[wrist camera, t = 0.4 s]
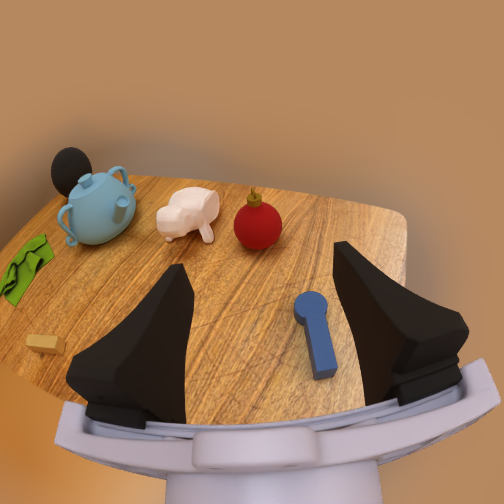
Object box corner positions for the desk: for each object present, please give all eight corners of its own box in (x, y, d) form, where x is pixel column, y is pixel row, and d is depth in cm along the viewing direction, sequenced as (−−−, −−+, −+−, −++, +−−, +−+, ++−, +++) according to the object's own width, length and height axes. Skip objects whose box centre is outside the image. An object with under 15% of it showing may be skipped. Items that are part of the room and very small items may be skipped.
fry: (66, 342, 32) (58, 335, 31) (63, 355, 31) (54, 348, 29) (36, 340, 33) (28, 333, 31) (33, 351, 31) (25, 345, 29)
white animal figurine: (186, 225, 53) (146, 257, 40) (182, 183, 49) (137, 203, 36) (227, 225, 51) (197, 260, 38) (224, 181, 48) (189, 201, 34)
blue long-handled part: (341, 375, 27) (346, 366, 24) (306, 381, 27) (307, 373, 25) (322, 297, 34) (324, 283, 32) (291, 302, 34) (291, 288, 32)
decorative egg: (58, 205, 64) (37, 164, 53) (85, 181, 71) (68, 141, 61) (77, 209, 60) (53, 161, 49) (107, 182, 67) (88, 137, 57)
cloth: (49, 227, 56) (45, 220, 54) (57, 272, 43) (51, 264, 42) (-1, 268, 48) (-6, 262, 46) (-3, 323, 35) (-10, 316, 33)
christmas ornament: (233, 234, 45) (223, 182, 38) (275, 224, 45) (271, 171, 38) (242, 264, 40) (231, 209, 33) (289, 252, 40) (287, 197, 33)
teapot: (121, 194, 60) (103, 150, 51) (177, 209, 52) (158, 153, 43) (62, 247, 49) (35, 202, 40) (106, 279, 41) (68, 222, 32)
